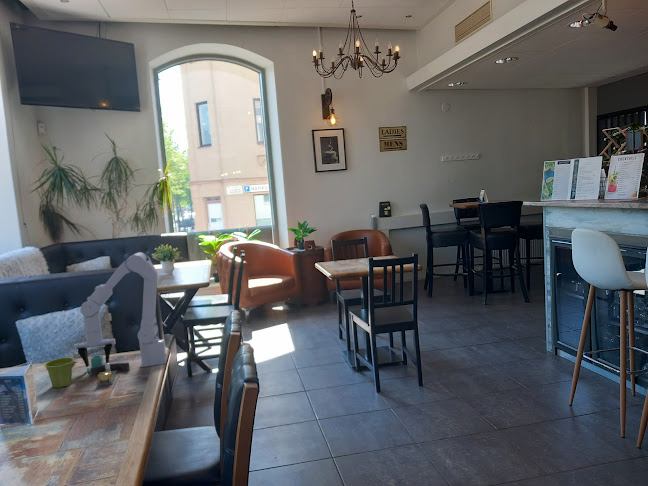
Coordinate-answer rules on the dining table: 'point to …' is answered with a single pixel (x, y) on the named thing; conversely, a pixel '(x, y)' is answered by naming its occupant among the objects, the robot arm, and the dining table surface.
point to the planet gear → (96, 362)
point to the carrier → (108, 372)
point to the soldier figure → (74, 355)
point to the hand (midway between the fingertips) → (97, 364)
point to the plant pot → (60, 371)
